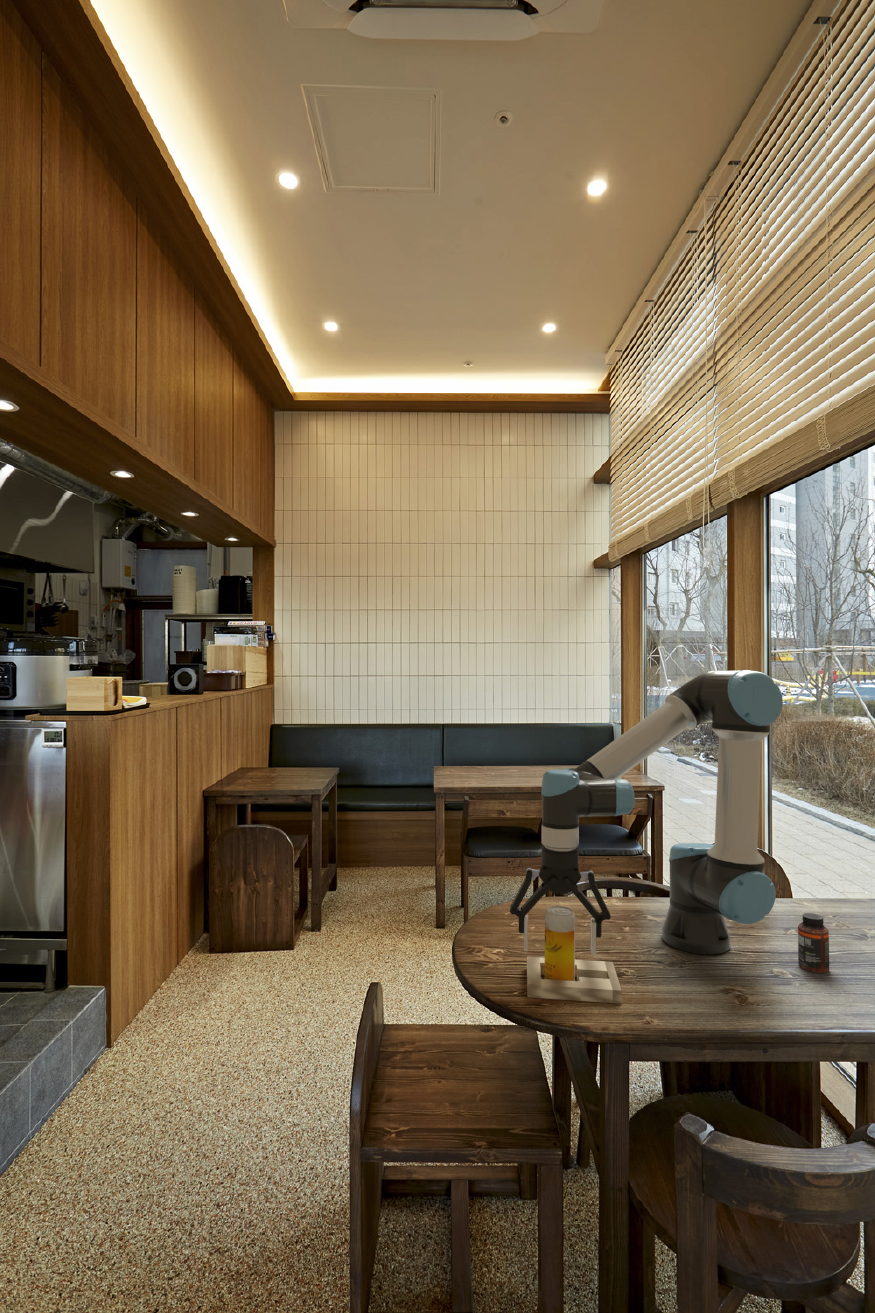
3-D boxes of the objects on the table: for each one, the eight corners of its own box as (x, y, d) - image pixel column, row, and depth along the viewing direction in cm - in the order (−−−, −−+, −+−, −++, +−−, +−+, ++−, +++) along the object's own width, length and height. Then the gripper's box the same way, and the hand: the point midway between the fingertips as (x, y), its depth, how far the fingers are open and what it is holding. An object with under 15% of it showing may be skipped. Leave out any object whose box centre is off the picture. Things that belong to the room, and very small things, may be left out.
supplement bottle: (826, 964, 147) (825, 913, 147) (832, 976, 141) (832, 922, 142) (795, 960, 149) (795, 909, 149) (800, 971, 143) (800, 918, 144)
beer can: (541, 978, 139) (541, 905, 139) (569, 977, 139) (570, 905, 140) (548, 992, 133) (549, 916, 133) (578, 991, 133) (578, 915, 134)
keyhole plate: (612, 974, 141) (612, 962, 141) (621, 1003, 128) (621, 990, 128) (526, 968, 143) (527, 956, 144) (527, 997, 131) (527, 984, 131)
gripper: (619, 844, 139) (619, 947, 139) (499, 839, 142) (498, 939, 142) (625, 853, 132) (624, 962, 131) (498, 848, 135) (497, 954, 134)
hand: (559, 951), depth 136 cm, fingers open, 13 cm apart
